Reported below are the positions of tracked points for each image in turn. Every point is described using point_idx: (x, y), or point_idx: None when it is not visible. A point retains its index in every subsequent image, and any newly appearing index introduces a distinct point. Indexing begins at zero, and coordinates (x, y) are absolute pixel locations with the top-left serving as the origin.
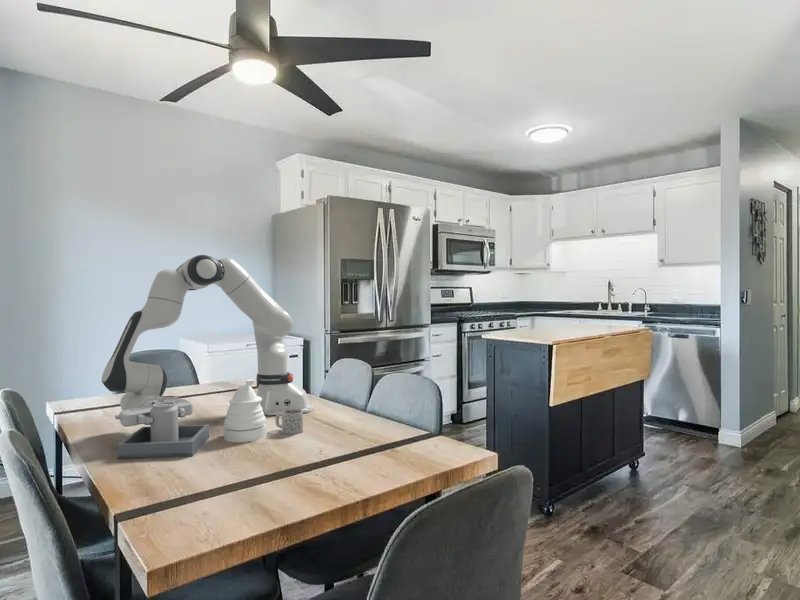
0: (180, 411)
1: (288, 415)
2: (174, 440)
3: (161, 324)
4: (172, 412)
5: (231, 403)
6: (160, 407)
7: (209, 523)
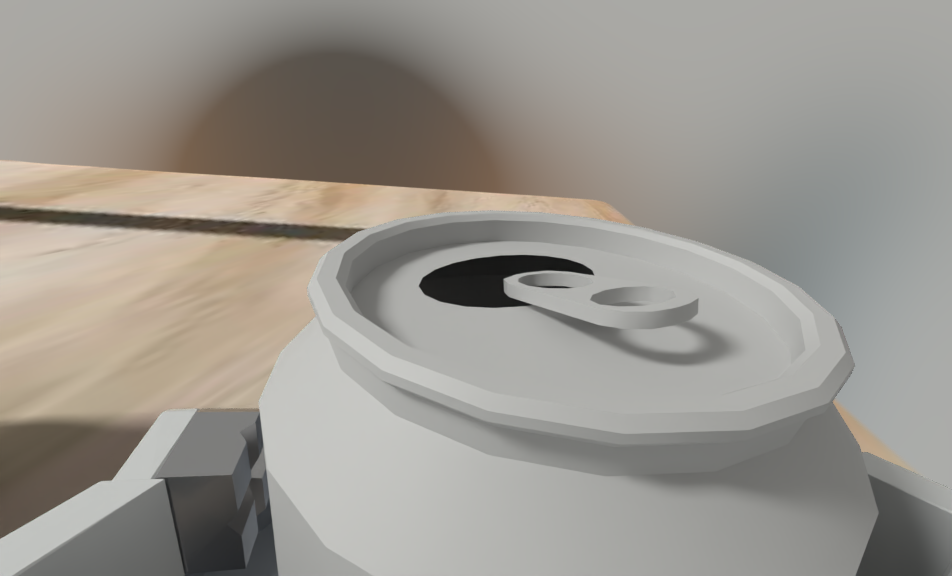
0: (232, 428)
1: None
2: None
3: None
4: (455, 298)
5: None
6: (628, 236)
7: (522, 211)
